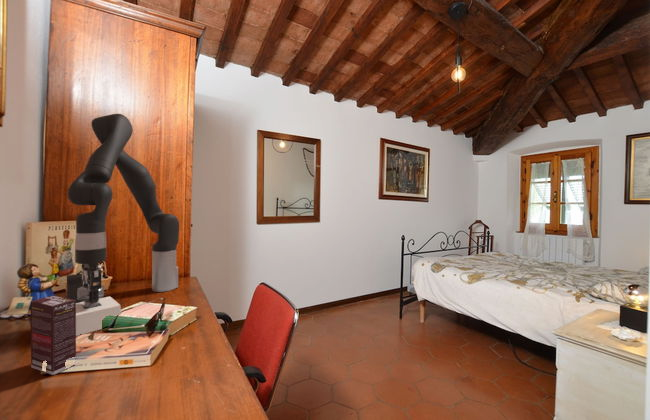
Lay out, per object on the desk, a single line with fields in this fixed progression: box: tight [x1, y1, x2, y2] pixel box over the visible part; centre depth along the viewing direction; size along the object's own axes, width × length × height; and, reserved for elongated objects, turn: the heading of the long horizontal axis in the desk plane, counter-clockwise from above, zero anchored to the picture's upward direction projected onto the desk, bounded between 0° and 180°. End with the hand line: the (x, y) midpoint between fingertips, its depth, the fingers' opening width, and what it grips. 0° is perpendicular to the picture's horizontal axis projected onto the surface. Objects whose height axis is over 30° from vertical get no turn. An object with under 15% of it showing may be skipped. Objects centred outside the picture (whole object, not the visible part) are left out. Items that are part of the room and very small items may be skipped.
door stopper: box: [66, 273, 84, 303], centre depth 102 cm, size 9×6×12 cm, turn 45°
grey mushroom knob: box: [77, 284, 105, 309], centre depth 88 cm, size 6×6×8 cm
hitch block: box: [76, 296, 122, 337], centre depth 88 cm, size 12×12×6 cm
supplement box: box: [30, 295, 77, 376], centre depth 66 cm, size 9×5×16 cm, turn 71°
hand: (91, 299), depth 88 cm, fingers closed on grey mushroom knob, 6 cm apart
